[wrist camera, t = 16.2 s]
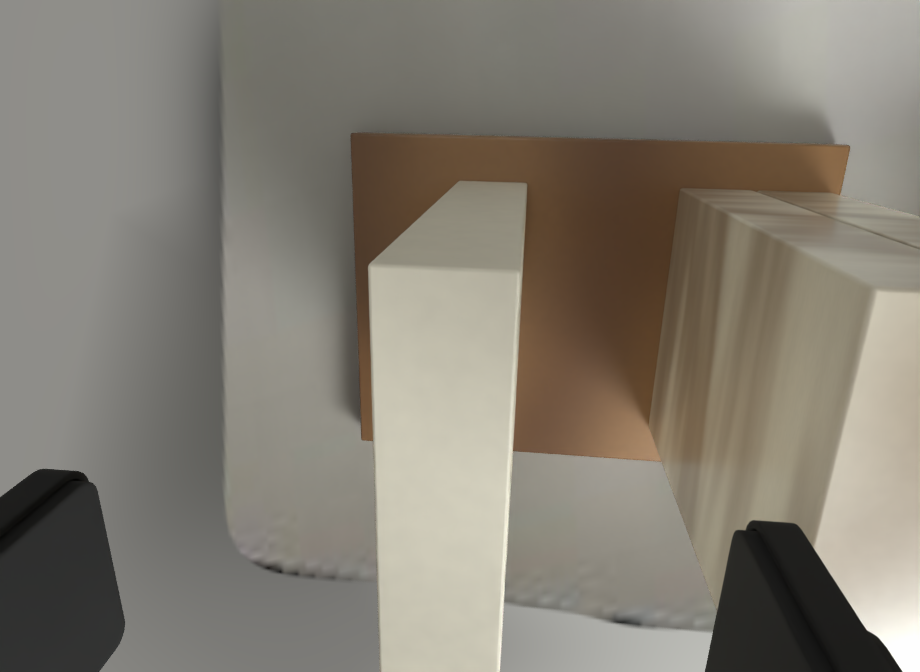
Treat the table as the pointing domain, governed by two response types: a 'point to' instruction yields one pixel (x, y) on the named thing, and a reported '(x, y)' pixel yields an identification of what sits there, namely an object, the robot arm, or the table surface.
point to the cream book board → (568, 258)
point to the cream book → (446, 426)
